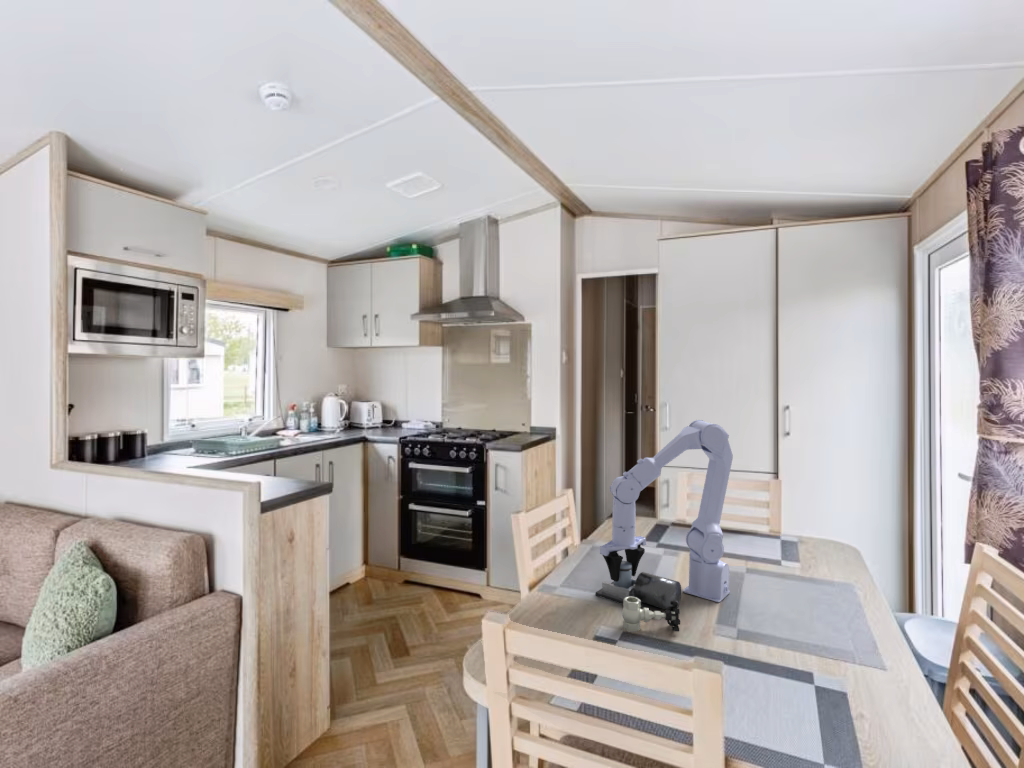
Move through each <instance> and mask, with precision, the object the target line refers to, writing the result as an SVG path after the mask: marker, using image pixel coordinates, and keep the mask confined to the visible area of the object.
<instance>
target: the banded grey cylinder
mask: <svg viewBox="0 0 1024 768" xmlns="http://www.w3.org/2000/svg"><path fill="white" fill-rule="evenodd" d="M632 578H633V576H632V564H631V563H630V562H627V560H622V562H621V566H620V574H619V581H617V582H616V581H614V580H613V581H614V585H617V586H620V587H624V588H627V589H628V588H630V587H631V580H632Z"/></svg>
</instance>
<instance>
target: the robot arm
mask: <svg viewBox="0 0 1024 768" xmlns="http://www.w3.org/2000/svg"><path fill="white" fill-rule="evenodd" d="M729 436H730V435H729V433H728V432H727V431H726V430H725V429H724V428H723V426H721V425H720V424H718V423H711V422H707V421H705V420H702V419H696V420H693V421H692V422H690V423H689V425H687V426H685V427H683V428H682V429H681V430H680V432H679V433H678V434H677V435H676V436H675V437H674V438H673V439H672V440H671V441H669V443H667V444H666V445H665V446H664V447H663V448H662V449H660V450H659V451H658V452H657V453H656V454H655V455H654V456H652V457H644V458H639V459H637V461H636V462H637V463H636V464H635V465H634V466H633V467H631V469H629V470H628V471H624V472H623V473H622V476H617V477H615V478H614V479H613V481H612V482H611V483H612V484H611V485H610V486H609V490H610V492H611V493H610V494H612V496H613V497H612V524H611V525H612V531H611V532H612V533H611V534H612V536H611V539H612V540H610V541H609V542H607V543H605V544H603V545H601V546H599V554H600V555H601V556H602V557H603V559H604V562H605V563H606V565H607V568H608V573H609V577H610V580H612V581H616V582H617V581H619V574H620V566H621V562H622V561H623V559H624V557H623V556H622V555H619V553H618V552H621V551H624V553H625V559H626V560H625V561H627V562H630V563H631V564H632V577H636V573H637V571H638V566H639V564H640V561H641V559H642V557H643V555H644V554H645V552H646V551H645V548H644V546H646V545H647V537H646V536H645V537H644V536H642V535H638V536H636V513H637V511H636V508H637V507H636V501H637V500H638V499H639V498H640V497H639V496H640V493H641V491H643V490H644V489H645V488H647V487H648V486H649V485H651V484H652V483H653V482H654V481H655V480H657V479H658V478H659V477H660V476H661V474H662V469H663V468H664V467H665V466H666V465H668V464H669V463H671V462H672V461H674V460H675V459H677V457H678V456H680V455H682V454H683V453H684V452H685V451H688V450H701V451H703V452H704V454H705V455H706V456H707V458H708V464H707V470H706V475H705V479H704V480H705V481H704V486H703V489H702V495H701V501H700V505H699V511H698V515H697V517H696V519H695V520H693V522H692V524H691V527H690V529H689V530H688V532H687V534H686V537H685V543H686V545H687V547H688V548H689V555H688V556H689V557H688V558H689V559H688V562H689V563H688V565H689V567H688V585H687V586H686V587H685V588H683V589H682V592H683V593H685V594H689V595H692V596H695V597H699V598H702V599H704V600H705V599H706V600H709V601H713V602H716V603H721V602H722V601H723V600H724V599H725V598H726V597H727V596H728V595H729V594H730V593H731V591H730V566H729V563H726V562H724V561H722V560H721V559H722V558H723V555H724V552H725V548H724V547H725V546H724V543H723V538H724V534H723V531H722V528H721V525H720V523H721V518H722V513H723V509H724V503H725V498H726V493H727V488H728V483H729V479H730V473H731V468H732V462H733V457H734V456H733V452H732V449H731V446H730V441H729V438H730V437H729ZM642 546H643V547H642Z"/></svg>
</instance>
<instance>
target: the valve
mask: <svg viewBox="0 0 1024 768" xmlns="http://www.w3.org/2000/svg"><path fill="white" fill-rule="evenodd" d="M641 604H642V602H641V600H640V599H638V598H636V597H632V596H629V597H625V598H624V600H623V604H622V606H623V609H622V611H621V612H622V613H621V615H622V619H623V621H622V628H623V630H625V631H626V632H628V633H629V632H632V633H638V632H639V630H641V621H643V622H644V623H649V622H650V620H652V619H653V620H662V619H664V620H665V621H666V622H667V624H668V625H669V626H670V627H671V630H672V631H674V632H676V633H677V632H678V633H679V632H680V625H681V619H680V617H679V615H680V614H681V611H680V608H679V606H678V602H677V601H671V602H670V604H671V605H673V606H669V607H667V609H666V610H664V612H661V610H653V611H652V610H649V607H642V605H641ZM677 606H678V608H677ZM641 607H642V608H641ZM669 610H670V611H669Z"/></svg>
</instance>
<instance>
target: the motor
mask: <svg viewBox="0 0 1024 768" xmlns="http://www.w3.org/2000/svg"><path fill="white" fill-rule="evenodd" d="M682 592H683V589H682V585H681V583H680V581H678V580H674V579H670V578H666V577H663V576H659V575H656V574H652V573H648V572H645V571H642V572H640V573H639V574H638V575H637V577H636V578H634V577H632V580H631V587H630V588H628V589H627V588H624V587H620V586H617V585H614V580H612V582H607V581H602V583H601V588H600V589H598V590H597V591H596V592H595V596H597V597H599V598H602V599H606V600H609V601H612V602H615V603H618V604H620V605H623V600H624V598H625V597H629V596H632V597H636V598H638V599H640V600H641V603H644V604H646V605H649V606H654V607H657V608H659V609H662V610H664V611H666V609H667V607H669V606H673V605H671V604H670V602H671V601H677V602H678V606H677V608H678V609H679V606H680V603H681V599H682ZM669 611H670V610H669Z"/></svg>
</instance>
